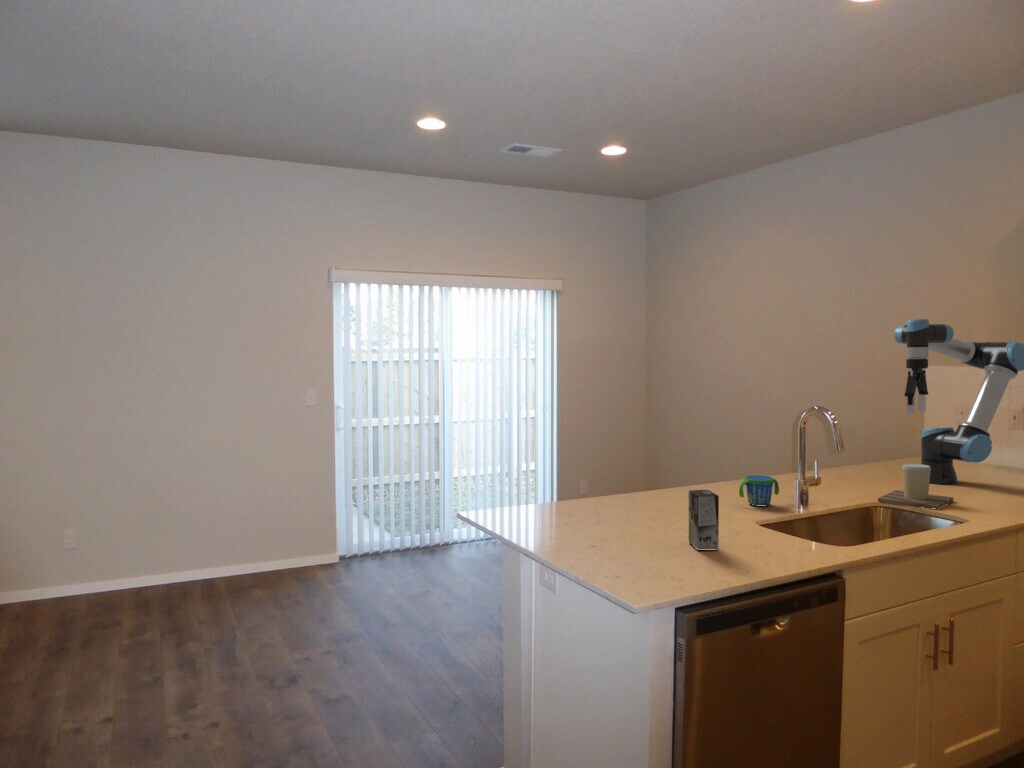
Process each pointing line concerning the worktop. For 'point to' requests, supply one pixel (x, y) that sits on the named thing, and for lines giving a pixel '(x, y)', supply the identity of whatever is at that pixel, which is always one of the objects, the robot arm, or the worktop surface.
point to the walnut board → (899, 499)
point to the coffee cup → (916, 481)
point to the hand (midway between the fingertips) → (916, 412)
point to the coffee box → (703, 519)
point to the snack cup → (759, 489)
